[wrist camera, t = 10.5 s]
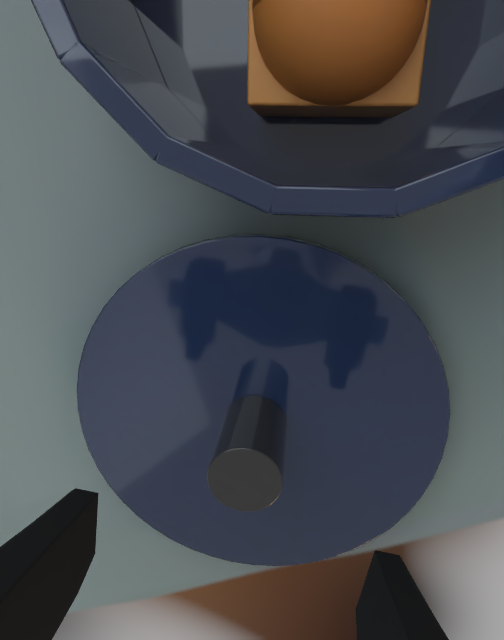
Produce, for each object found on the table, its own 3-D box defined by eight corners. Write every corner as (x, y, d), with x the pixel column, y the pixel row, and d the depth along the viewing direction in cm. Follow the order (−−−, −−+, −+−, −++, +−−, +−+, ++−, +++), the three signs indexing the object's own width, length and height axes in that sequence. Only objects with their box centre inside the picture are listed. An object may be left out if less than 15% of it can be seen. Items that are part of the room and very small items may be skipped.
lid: (472, 237, 16) (533, 267, 11) (415, 561, 20) (444, 667, 16) (70, 224, 17) (-9, 246, 13) (105, 530, 22) (56, 620, 17)
